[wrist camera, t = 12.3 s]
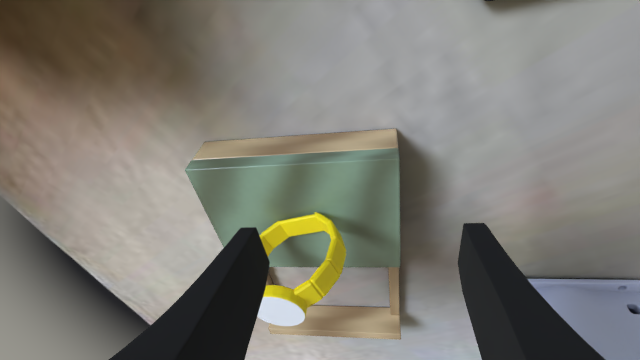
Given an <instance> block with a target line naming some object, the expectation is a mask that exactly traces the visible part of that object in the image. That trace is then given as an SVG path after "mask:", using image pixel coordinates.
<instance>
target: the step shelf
mask: <svg viewBox="0 0 640 360" xmlns="http://www.w3.org/2000/svg"><path fill="white" fill-rule="evenodd" d="M185 171H186V173H187V175H188V177H189V179H190V181H191V183H192V185H193V187H194V189H195V191H196V193H197V195H198V197H199V199H200V201H201V203H202V205H203V207H204V209H205V211H206V213H207V215H208V217H209V219H210V221H211V223H212V225H213V227H214V229H215V231H216V233H217V235H218V237H219V239H220V241H221V243H222V245H223V247H225V246H226V245H227V243H228V242H229V241H230V240H231V239H232V237H233V236H234V235H235V234H236V233H237V231H238V230H239V229H240V228H244V227H256V228H257V231H258V233H259V235H261V234H262V232H264V231H265V230H266V229H268V228H269V227H270V226H272V225H273V224H274V223H276V222H277V221H281V220H286V219H292V218H297V217H302V216H306V215H312V214H315V212H317V213H320V214H322V215H324V216H325V217H327V218H328V219H330V220H331V221H332V222H333V223H334V225H335V226H336V228H337V230H338V231H339V233H340V234H341V236H342V239H343V242H344V245H345V248H346V257H345V261H344V265H343V267H388V270H389V293H390V308H388V307H352V306H315V305H311V306H310V307H308V308H307V312H306V317H305V319H304V321H303V322H302V323H300V324H298V325H295V326H279V325H274V324H271V323H270V324H269V328H268V329H269V331H270V333H271V334H287V335H310V336H332V337H355V338H377V339H399V340H400V339H401V331H400V315H399V267H400V158H399V149H398V139H397V130H396V129H383V130H369V131H355V132H340V133H326V134H311V135H297V136H283V137H268V138H254V139H239V140H225V141H211V142H204V144H203V145H202V146H201V148H200V149H199V151H198V152H197V154H196V155H195V157H194V158H193V160H192V161H191V162H190V163H189V165H188V166H187V168H186V169H185ZM330 242H331V238H330V234H328V233H327V232H325V231H320V232H314V233H309V234H303V235H297V236H291V237H288V238H287V239H286V240H285V241H283V242H282V243H281V244H279V245H278V246H277V247H275V248H273V250H272V252H271V253H270V254H269V256H268V259H269V261H270V265H269V267H320V266H321V264H322V263H323V262H324V261H325V259H326V255H327V252H328V249H329V245H330ZM266 285H273V282H272V280H271V277H270V275H269V272H268V277H267V282H266Z"/></svg>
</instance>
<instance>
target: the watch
mask: <svg viewBox="0 0 640 360" xmlns="http://www.w3.org/2000/svg"><path fill="white" fill-rule="evenodd" d="M320 231H325V232H327V233H328V234H330V238H331V242H330V245H329V249H328V252H327V255H326V259H325V261H324V262H323V263H322V264H321V266H320V267H319V268H318V269H317V271H316V272H315V273H314V274H313V276H312V277H311V278H310V280H308V281H306V282H304V283H303V284H301V285H300V286H298V287H296V288H295V289H290V288H287V287H284V286H278V285H266V288H265V292H264V295H263V298H262V302H261V305H260V308H259V312H258V315H257V317H259V318H260V319H262V320H264V321H266V322H268V323H271V324H274V325H279V326H295V325H298V324H300V323H302V322H303V321H304V319H305V317H306V312H307V308H308V307H310V306H311V305H313V304H314V303H316V302H318V301H319V300H321V299H322V298H323V296H325V295H326V294H327V293H328V292H329V290H330V289H331V288H332V286H333V285H334V284H335V282H336V281H337V280H338V278H339V277H340V274H341V273H342V269H343V265H344V261H345V257H346V248H345V245H344V242H343V239H342V236H341V234H340V233H339V231H338V230H337V228H336V226H335V225H334V223H333V222H332V221H331V220H330V219H328V218H327V217H325V216H324V215H322V214H320V213H317V212H315V214H312V215H306V216H302V217H297V218H292V219H286V220H281V221H277V222H276V223H274V224H273V225H272V226H270V227H269V228H268V229H266V230H265V231H264V232H262V234H261V235H259V236H260V238H261V241H262V243H263V246H264V249H265V251H266V254H267V256H269V254H270V253H271V252H272V250H273V248H275V247H277V246H278V245H279V244H281V243H282V242H283V241H285V240H286V239H287V238H288V237H291V236H297V235H303V234H309V233H314V232H320Z"/></svg>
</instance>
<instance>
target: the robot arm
mask: <svg viewBox="0 0 640 360" xmlns="http://www.w3.org/2000/svg"><path fill="white" fill-rule="evenodd" d="M269 265H270V261H269V259H268V256H267V254H266V251H265V249H264V246H263V243H262V241H261V238H260V236H259V233H258V231H257V228H256V227H244V228H240V229H239V230H238V231H237V233H236V234H235V235H234V236H233V237H232V239H231V240H230V241H229V242H228V243H227V245H226V246H225V247H224V248H223V250H222V251H221V252H220V253H219V254H218V256H217V257H216V258H215V259H214V260H213V262H212V263H211V264H210V265H209V266H208V267H207V269H206V270H205V271H204V272H203V273H202V274H201V275H200V277H199V278H198V279H197V280H196V281H195V282H194V283H193V284H192V285H191V286H190V288H189V289H188V290H187V291H186V292H185V293H184V294H183V295H182V296H181V297H180V298H179V299H178V300H177V301H176V302H175V303H174V304H173V305H172V306H171V307H170V308H169V309H168V310H167V311H166V312H165V313H164V314H163V315H162V316H161V317H160V318H159V319H157V320H156V321H155V322H154V323H153V324H152V325H151V326H150V327H149V328H147V329H146V330H145V331H144V332H143V333H141V334H140V335H139V336H138V337H137V338H135V339H134V340H133V341H132V342H131V343H129V344H128V345H127V346H126V347H125V348H123V349H122V350H121V351H119V352H118V353H117V354H116V355H114V356H113V357H112V358H110V359H109V360H244V359H245V355H246V352H247V348H248V344H249V341H250V338H251V335H252V331H253V328H254V325H255V322H256V318H257V315H258V312H259V308H260V305H261V302H262V298H263V295H264V292H265V288H266V282H267V277H268V271H269ZM458 267H459V273H460V279H461V285H462V291H463V295H464V299H465V302H466V306H467V309H468V313H469V316H470V320H471V323H472V326H473V330H474V333H475V337H476V340H477V344H478V347H479V351H480V354H481V358H482V360H640V280H605V279H527V278H526V277H525V276H524V275H523V273H522V272H521V271H520V270H519V269H518V267H517V266H516V265H515V264H514V262H513V261H512V260H511V258H510V257H509V256H508V255H507V253H506V252H505V251H504V249H503V248H502V247H501V245H500V244H499V242H498V241H497V240H496V238H495V237H494V235H493V234H492V233H491V231H490V230H489V228H488V227H487V225H485V224H484V223H466V224H464V225H463V232H462V239H461V245H460V252H459V258H458Z"/></svg>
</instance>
